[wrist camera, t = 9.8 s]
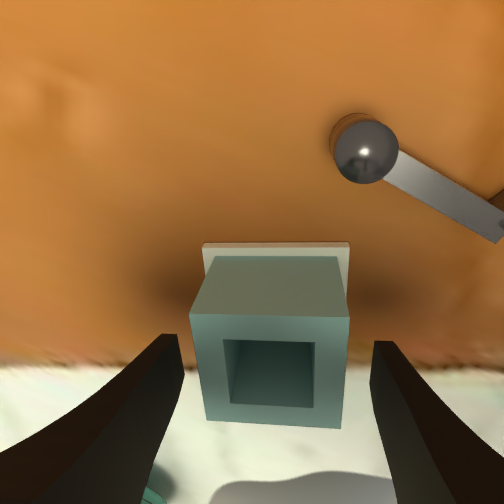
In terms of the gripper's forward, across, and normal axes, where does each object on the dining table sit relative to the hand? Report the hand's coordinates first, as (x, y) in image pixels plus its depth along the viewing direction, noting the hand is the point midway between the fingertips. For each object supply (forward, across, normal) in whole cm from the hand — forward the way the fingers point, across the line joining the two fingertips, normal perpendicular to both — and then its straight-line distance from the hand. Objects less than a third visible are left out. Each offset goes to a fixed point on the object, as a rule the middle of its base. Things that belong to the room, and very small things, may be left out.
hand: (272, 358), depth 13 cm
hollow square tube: (+3, 0, 0) cm, 3 cm away
